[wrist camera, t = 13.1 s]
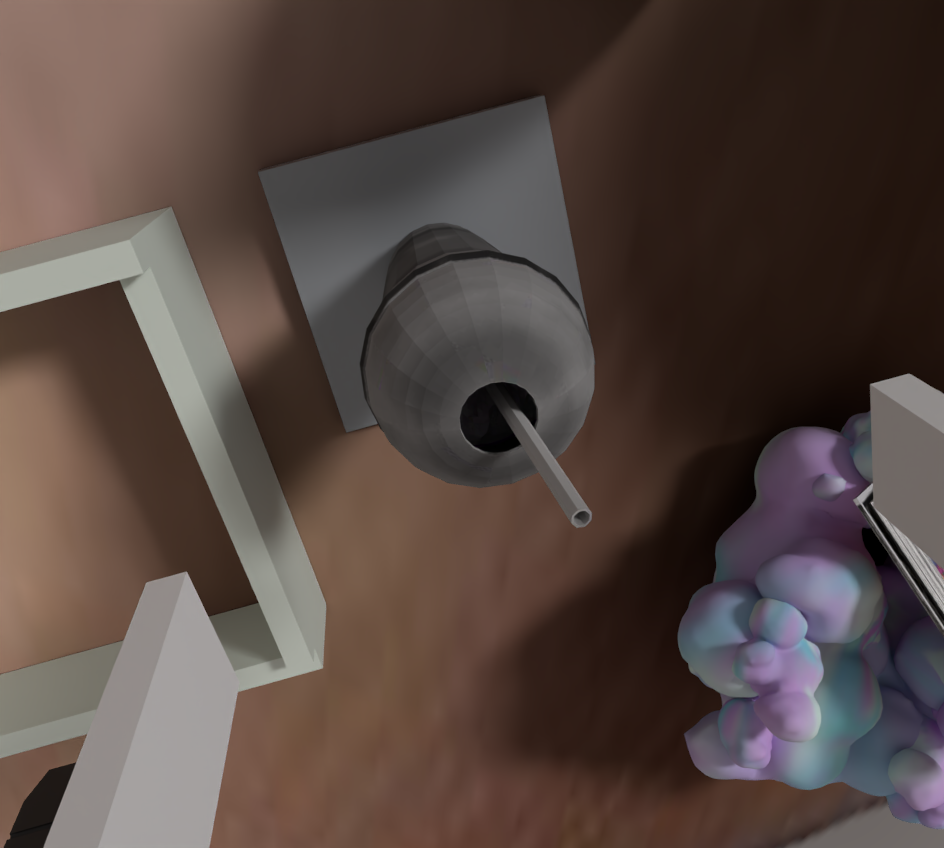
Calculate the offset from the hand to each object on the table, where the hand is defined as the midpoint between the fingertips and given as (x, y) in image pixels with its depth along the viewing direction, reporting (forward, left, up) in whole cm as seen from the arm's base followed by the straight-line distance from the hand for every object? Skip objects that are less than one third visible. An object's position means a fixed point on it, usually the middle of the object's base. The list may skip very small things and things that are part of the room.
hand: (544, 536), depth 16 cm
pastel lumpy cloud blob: (+20, +17, -24) cm, 35 cm away
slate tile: (0, 0, -23) cm, 23 cm away
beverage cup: (0, 0, -23) cm, 23 cm away
